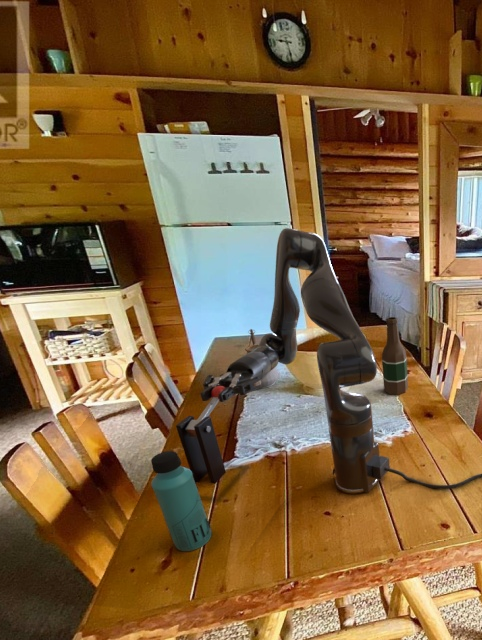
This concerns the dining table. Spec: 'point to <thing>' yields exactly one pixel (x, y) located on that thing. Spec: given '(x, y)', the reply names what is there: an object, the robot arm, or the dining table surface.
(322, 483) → the dining table surface
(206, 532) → the beverage bottle
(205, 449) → the tap bracket
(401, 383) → the beer bottle
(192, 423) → the tap lever
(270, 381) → the coffee pot
